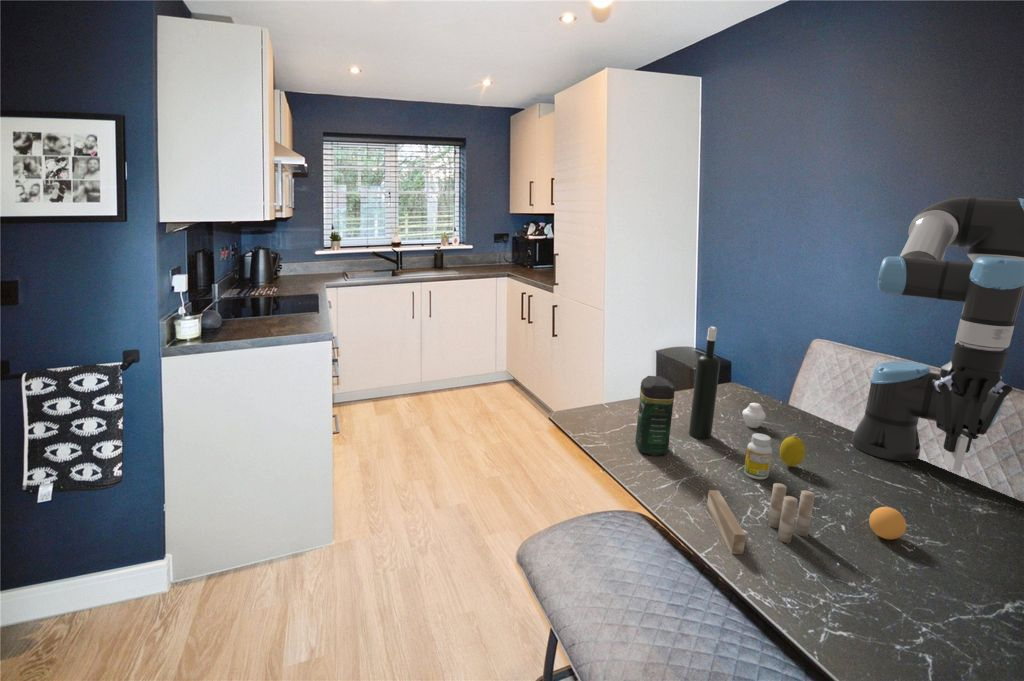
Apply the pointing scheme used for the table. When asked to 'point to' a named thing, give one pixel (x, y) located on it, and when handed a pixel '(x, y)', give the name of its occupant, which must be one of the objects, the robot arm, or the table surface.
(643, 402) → the coffee jar
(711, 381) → the wine bottle
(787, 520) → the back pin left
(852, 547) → the table surface
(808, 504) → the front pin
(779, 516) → the back pin right
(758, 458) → the supplement bottle
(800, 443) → the lemon
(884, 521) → the ball
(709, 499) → the back wall
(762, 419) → the white tapered rounded part
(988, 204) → the robot arm
